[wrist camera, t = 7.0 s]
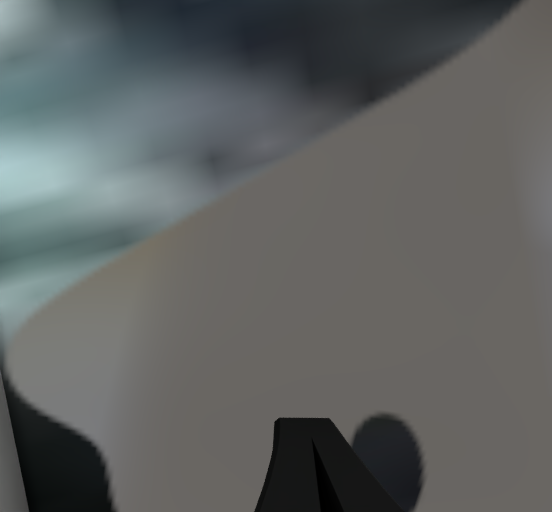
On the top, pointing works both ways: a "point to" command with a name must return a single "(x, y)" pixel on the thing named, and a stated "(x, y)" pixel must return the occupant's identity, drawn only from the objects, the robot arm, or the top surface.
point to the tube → (9, 464)
